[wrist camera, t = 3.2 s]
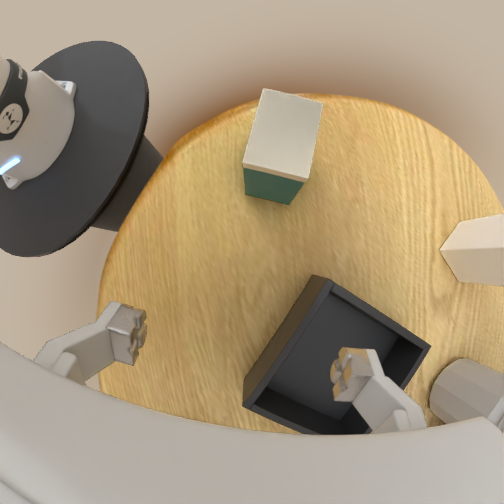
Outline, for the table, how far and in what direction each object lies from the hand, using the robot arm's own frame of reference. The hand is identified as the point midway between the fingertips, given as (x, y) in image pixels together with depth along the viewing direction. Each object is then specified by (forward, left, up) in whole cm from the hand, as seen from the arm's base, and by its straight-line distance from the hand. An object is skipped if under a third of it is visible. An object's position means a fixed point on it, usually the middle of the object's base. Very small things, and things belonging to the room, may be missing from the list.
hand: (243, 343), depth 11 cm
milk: (+23, +19, -20) cm, 36 cm away
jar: (+34, +2, -20) cm, 40 cm away
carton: (-5, +13, -20) cm, 24 cm away
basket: (+13, -2, -20) cm, 24 cm away
